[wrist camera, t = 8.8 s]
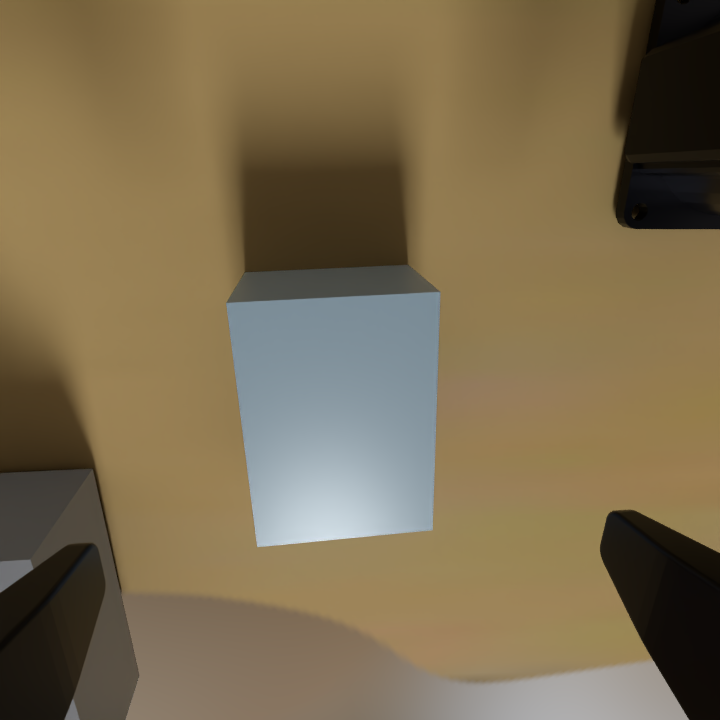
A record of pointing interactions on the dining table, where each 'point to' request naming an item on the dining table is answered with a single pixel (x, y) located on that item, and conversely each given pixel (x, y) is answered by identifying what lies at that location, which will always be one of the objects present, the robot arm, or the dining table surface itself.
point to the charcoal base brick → (43, 539)
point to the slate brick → (337, 400)
